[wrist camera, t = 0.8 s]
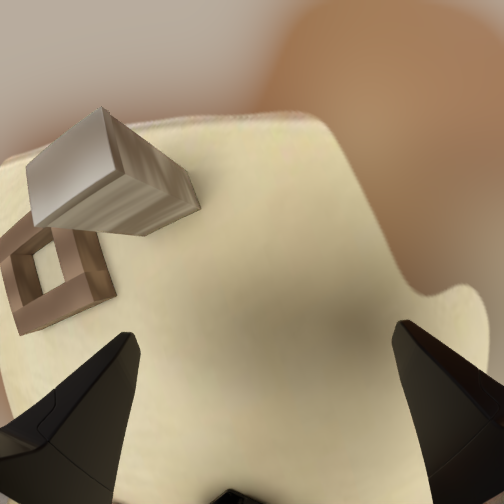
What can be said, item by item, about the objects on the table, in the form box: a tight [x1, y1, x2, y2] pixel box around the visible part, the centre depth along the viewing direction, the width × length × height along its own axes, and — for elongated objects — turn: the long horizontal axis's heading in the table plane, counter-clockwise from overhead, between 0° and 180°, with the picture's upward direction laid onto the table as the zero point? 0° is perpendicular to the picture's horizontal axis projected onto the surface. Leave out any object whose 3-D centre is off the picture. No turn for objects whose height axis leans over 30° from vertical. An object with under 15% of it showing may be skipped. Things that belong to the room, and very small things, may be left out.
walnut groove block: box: [0, 211, 117, 336], centre depth 24 cm, size 10×12×4 cm
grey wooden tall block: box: [26, 107, 201, 236], centre depth 18 cm, size 4×6×12 cm, turn 112°
